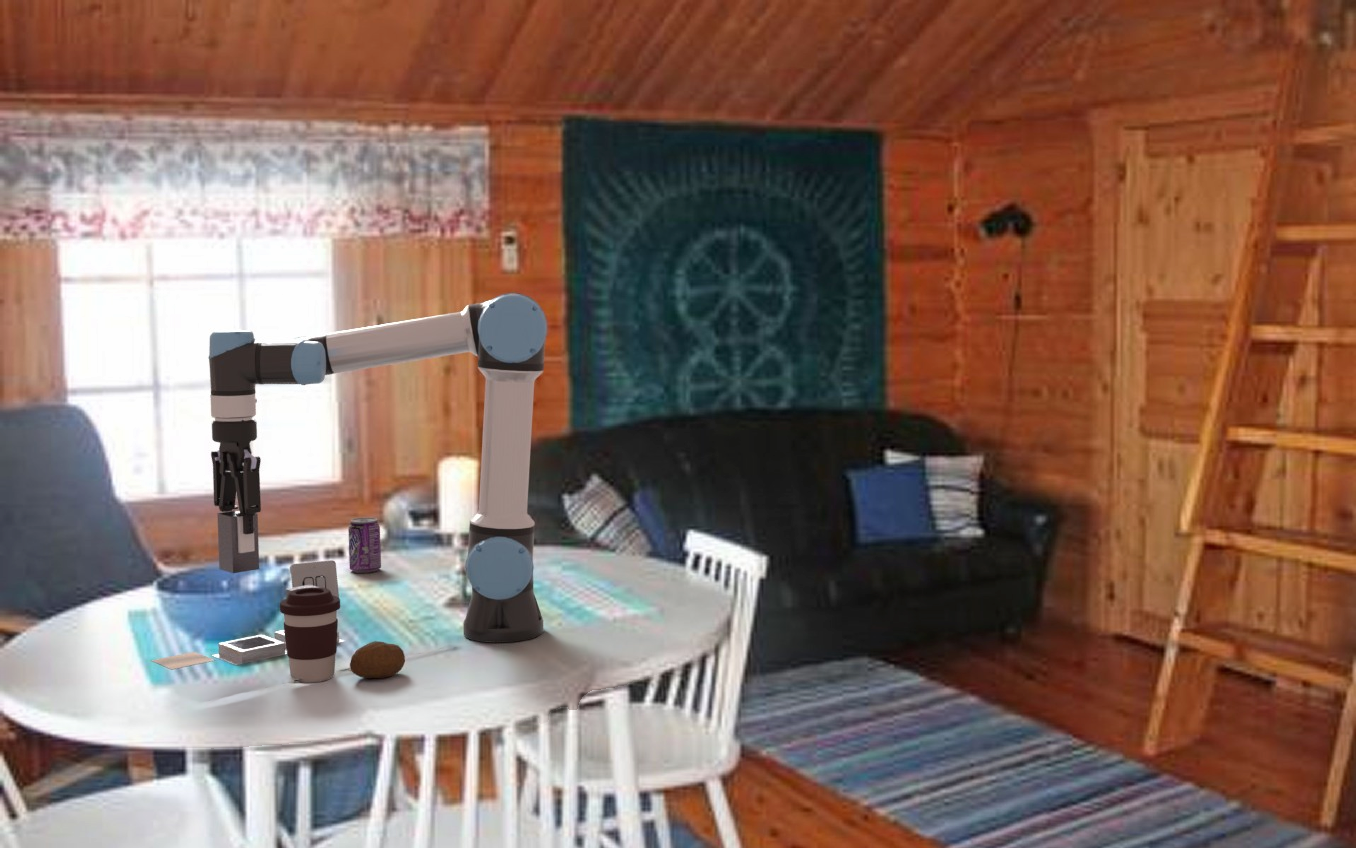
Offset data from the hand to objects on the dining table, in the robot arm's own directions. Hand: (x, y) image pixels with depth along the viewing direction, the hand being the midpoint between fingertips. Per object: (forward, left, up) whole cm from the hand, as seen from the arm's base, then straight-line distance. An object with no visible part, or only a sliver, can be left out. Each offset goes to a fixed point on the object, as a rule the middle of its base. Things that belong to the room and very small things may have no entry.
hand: (238, 549), depth 252 cm
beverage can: (+49, -57, -20) cm, 78 cm away
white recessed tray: (-1, -7, -20) cm, 21 cm away
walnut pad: (+4, +9, -20) cm, 22 cm away
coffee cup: (-19, -3, -20) cm, 28 cm away
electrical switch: (+28, -31, -20) cm, 47 cm away
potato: (-27, -11, -20) cm, 35 cm away
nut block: (0, 0, -4) cm, 4 cm away
